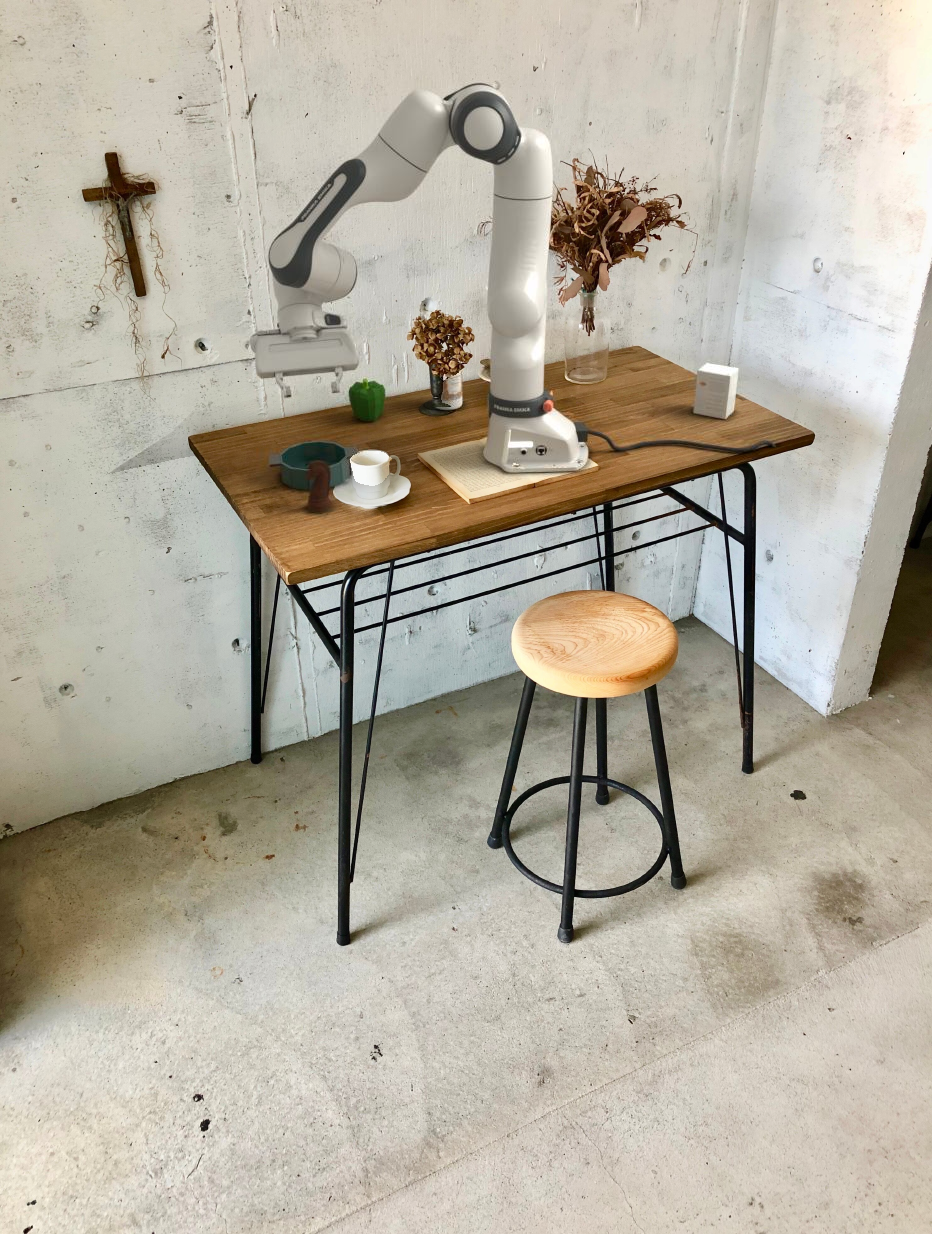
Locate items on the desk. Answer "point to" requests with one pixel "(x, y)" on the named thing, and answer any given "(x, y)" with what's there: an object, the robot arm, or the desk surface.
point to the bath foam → (452, 392)
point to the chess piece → (319, 487)
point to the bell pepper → (367, 400)
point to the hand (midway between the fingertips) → (312, 394)
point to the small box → (715, 390)
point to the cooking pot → (301, 455)
